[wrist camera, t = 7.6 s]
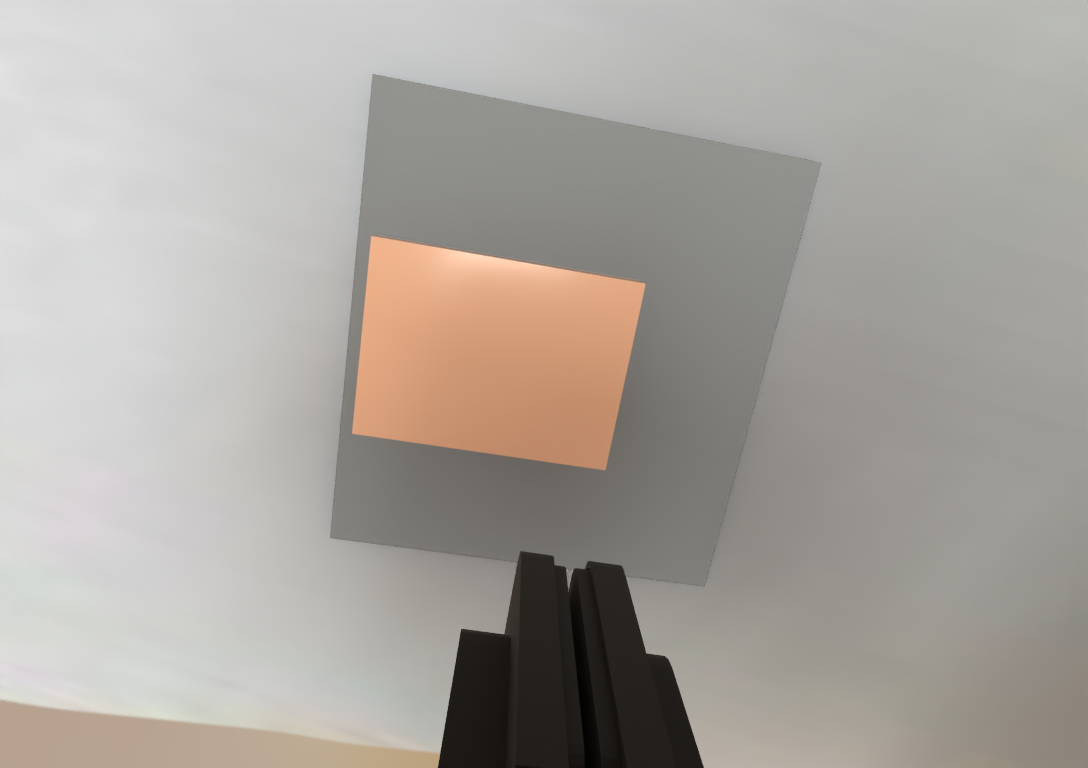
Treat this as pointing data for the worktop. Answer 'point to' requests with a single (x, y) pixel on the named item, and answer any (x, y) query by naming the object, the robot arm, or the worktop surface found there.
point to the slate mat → (597, 246)
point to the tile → (493, 353)
